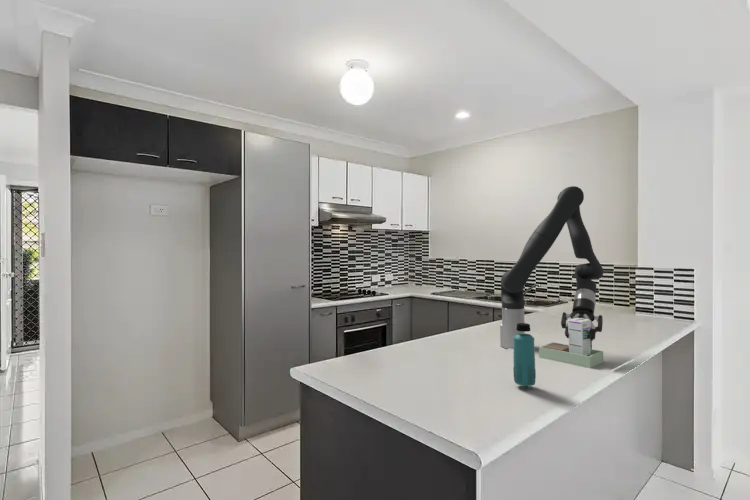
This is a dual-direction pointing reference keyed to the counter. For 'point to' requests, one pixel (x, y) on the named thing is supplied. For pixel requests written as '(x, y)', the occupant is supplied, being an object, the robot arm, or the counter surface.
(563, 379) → the counter surface
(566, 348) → the coffee brick
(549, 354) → the tray
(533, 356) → the beverage bottle
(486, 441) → the counter surface
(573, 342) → the syrup box
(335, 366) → the counter surface
